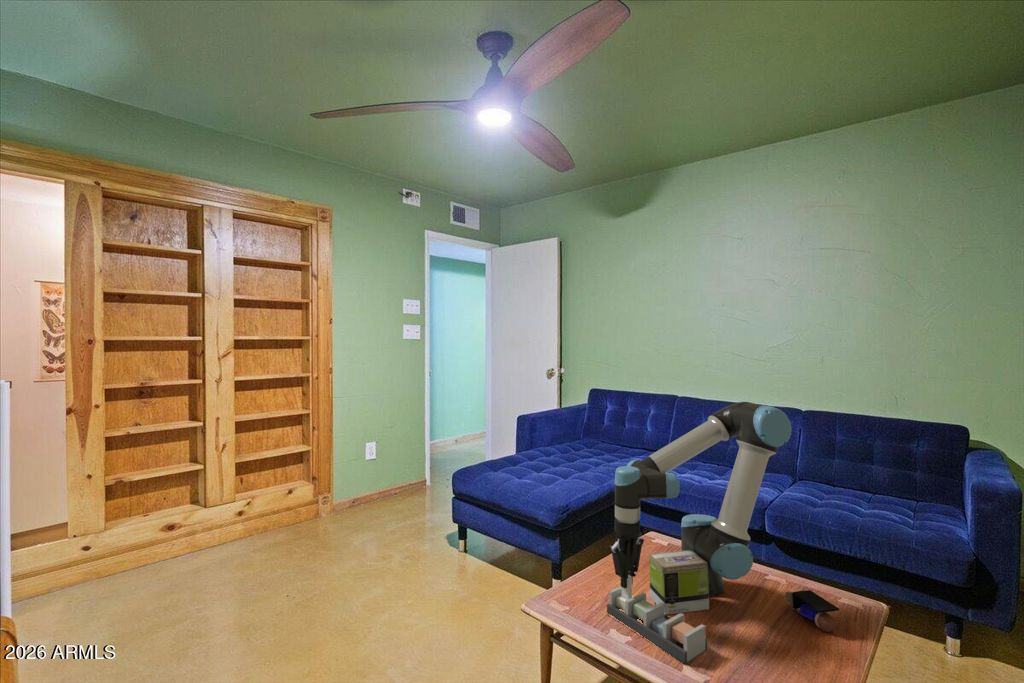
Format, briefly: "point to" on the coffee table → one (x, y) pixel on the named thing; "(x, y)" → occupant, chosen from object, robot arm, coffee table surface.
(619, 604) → the ivory key
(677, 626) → the terracotta key
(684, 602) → the tea box
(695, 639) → the keypad base
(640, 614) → the sage key
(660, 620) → the slate key
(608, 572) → the coffee table surface
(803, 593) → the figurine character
